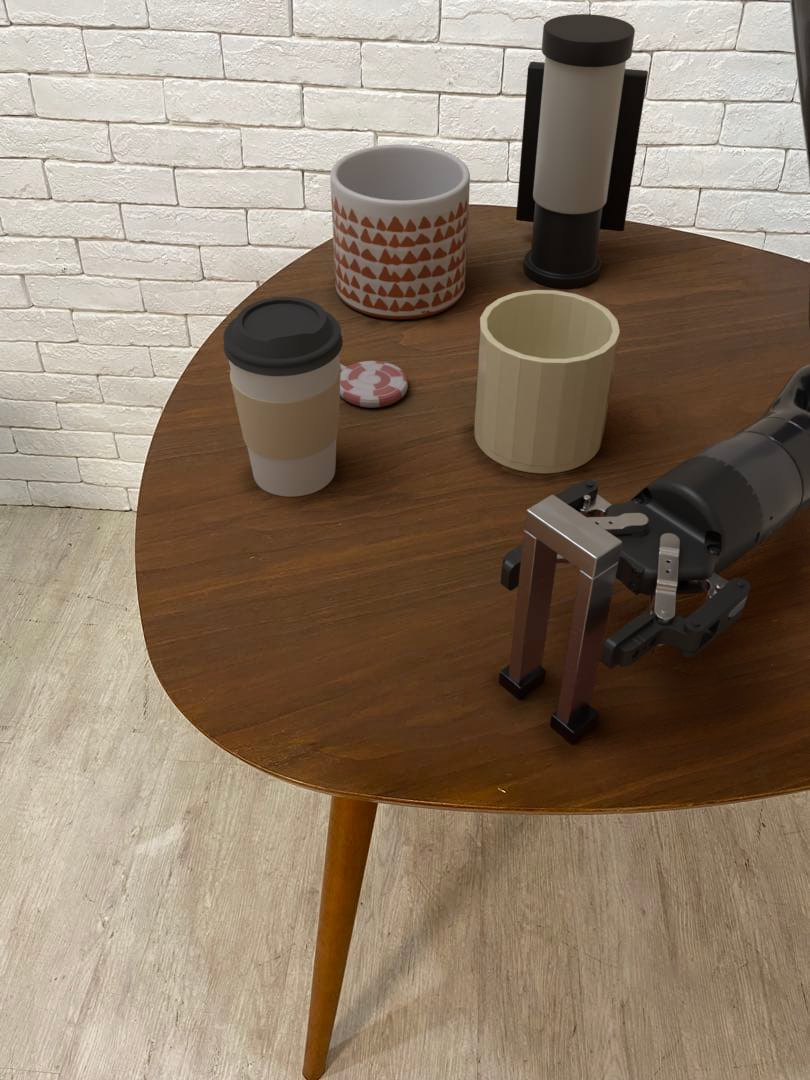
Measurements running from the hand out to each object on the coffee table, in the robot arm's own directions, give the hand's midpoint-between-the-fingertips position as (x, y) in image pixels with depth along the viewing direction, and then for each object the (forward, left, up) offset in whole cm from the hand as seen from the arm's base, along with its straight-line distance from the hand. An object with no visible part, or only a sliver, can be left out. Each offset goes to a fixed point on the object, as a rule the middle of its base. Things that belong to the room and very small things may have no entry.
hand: (553, 615), depth 64 cm
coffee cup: (+26, -17, -9) cm, 32 cm away
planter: (+28, -49, -9) cm, 57 cm away
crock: (+8, -29, -9) cm, 32 cm away
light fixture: (+13, -60, -9) cm, 62 cm away
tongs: (0, 0, -9) cm, 9 cm away
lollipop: (+28, -32, -9) cm, 44 cm away
